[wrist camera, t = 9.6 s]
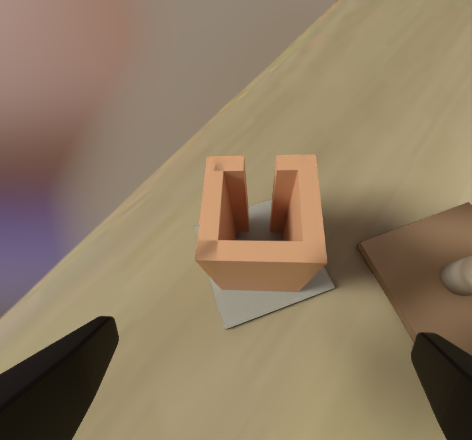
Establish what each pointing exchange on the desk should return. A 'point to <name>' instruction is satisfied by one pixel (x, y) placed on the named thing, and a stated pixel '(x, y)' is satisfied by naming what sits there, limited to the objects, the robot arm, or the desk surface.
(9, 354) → the desk surface
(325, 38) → the desk surface
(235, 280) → the c link
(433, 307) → the stand
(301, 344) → the desk surface
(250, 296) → the mat
